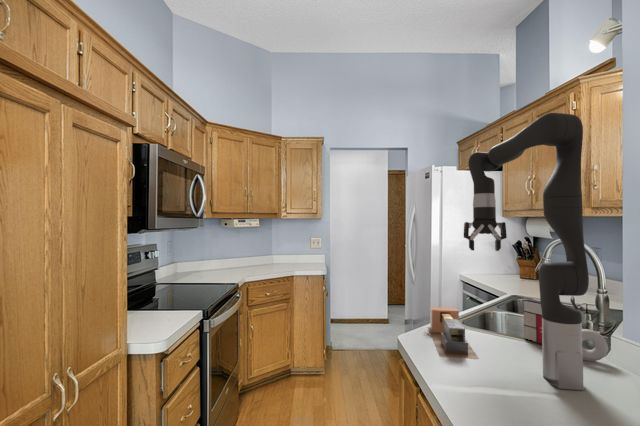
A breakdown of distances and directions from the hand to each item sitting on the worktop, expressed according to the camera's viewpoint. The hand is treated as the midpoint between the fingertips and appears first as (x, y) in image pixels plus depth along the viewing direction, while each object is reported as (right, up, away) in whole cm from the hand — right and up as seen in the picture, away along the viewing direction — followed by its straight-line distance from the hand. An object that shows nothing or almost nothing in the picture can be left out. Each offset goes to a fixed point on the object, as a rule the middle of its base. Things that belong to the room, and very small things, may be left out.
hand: (484, 250), depth 133 cm
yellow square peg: (-13, -28, +2) cm, 31 cm away
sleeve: (-14, -33, -8) cm, 37 cm away
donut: (+26, -34, -17) cm, 46 cm away
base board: (-13, -34, -1) cm, 36 cm away
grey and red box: (+21, -34, +1) cm, 40 cm away
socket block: (-11, -33, +11) cm, 37 cm away
